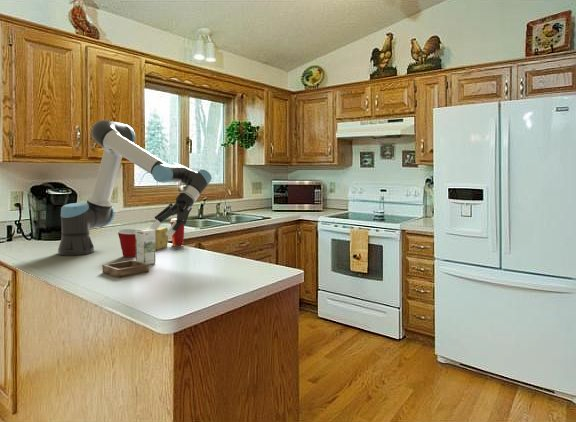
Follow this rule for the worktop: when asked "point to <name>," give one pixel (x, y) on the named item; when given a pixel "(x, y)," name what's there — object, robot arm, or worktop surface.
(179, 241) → the paper cup
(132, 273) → the tray
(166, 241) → the cheese
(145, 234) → the syrup box
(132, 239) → the plastic cup
